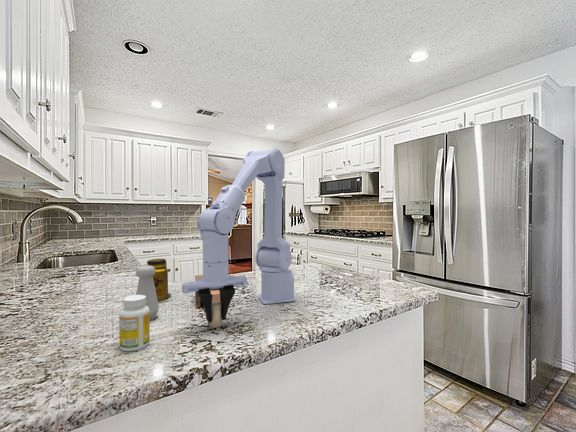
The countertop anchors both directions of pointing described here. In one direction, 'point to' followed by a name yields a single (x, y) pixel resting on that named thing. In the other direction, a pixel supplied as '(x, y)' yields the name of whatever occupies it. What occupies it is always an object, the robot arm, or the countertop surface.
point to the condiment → (160, 279)
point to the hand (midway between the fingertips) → (216, 319)
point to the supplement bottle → (134, 323)
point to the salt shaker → (148, 288)
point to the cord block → (216, 309)
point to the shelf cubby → (197, 298)
